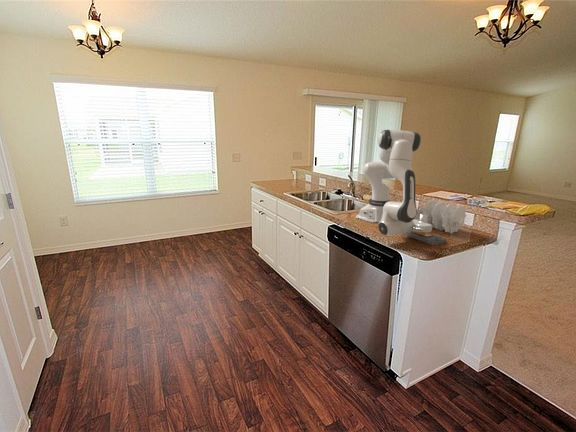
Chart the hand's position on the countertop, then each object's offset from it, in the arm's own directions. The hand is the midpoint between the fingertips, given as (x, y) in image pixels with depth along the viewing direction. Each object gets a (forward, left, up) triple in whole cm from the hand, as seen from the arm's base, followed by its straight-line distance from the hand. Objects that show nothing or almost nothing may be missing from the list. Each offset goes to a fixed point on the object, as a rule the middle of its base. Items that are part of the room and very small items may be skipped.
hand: (424, 222), depth 164 cm
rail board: (-1, 0, -9) cm, 9 cm away
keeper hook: (+9, -5, -7) cm, 12 cm away
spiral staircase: (+3, +21, -9) cm, 23 cm away
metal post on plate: (0, -1, -6) cm, 6 cm away
